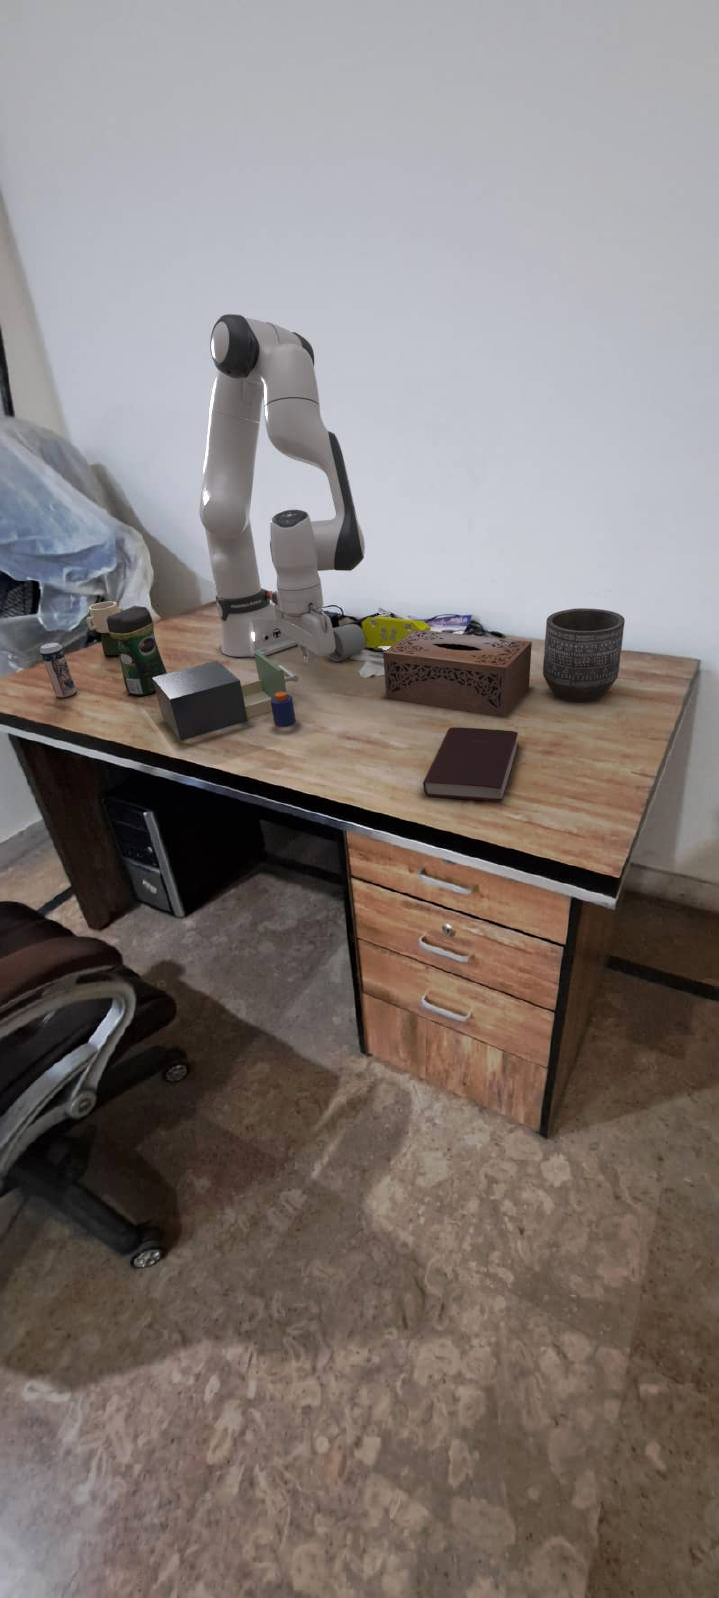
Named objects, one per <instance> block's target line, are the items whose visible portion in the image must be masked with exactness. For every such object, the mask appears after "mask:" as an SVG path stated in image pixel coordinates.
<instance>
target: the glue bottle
mask: <svg viewBox="0 0 719 1598" xmlns="http://www.w3.org/2000/svg"><path fill="white" fill-rule="evenodd" d="M286 692H287V691H286ZM286 692H278V693H276V694H275V696H274V697H272V698H271V700H270V701H271V706H272V711H271V713H272V719H273V724H274V725H275V727H280V728H285V727H290V726H292V725H294V724H295V723H296V721H297V720H296V714H295V706H294V700H293V696H292V695H290V694H288V693H287V694H286Z"/></svg>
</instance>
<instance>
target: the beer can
mask: <svg viewBox="0 0 719 1598" xmlns="http://www.w3.org/2000/svg"><path fill="white" fill-rule="evenodd" d="M39 653H40V655H41V657H42V660H43V664H44V666H45V669H46V672H47V675H48V677H49V681H50V683H51V687H52V689H53V692H54V695H55V697H58V698H68V697H71V696H73V695H74V694H75V693H76V692H77V689H76V686H75V682H74V680H73V676H72V673H71V670H70V667H69V665H68V661H67V658H66V656H65V653H64V650H63V646H62V645H61V644H60V643H59V642H58V641H57V642H55V641H54V642H48V643H43V644H42V645H41V646H40V650H39Z"/></svg>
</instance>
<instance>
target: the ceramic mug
mask: <svg viewBox="0 0 719 1598" xmlns="http://www.w3.org/2000/svg"><path fill="white" fill-rule="evenodd" d="M344 625H345V624H344ZM340 626H341V627H338V626H336V627H337V628H333V627H332V628H333V633H334V639H335V645H336V649H335V652H334V653H332V654H329V655H327V656H328V658H329V659H330V660H331V661H334V662H340V661H343V660H346V659H348V658H351V657H353V656H356V655H358V654H360V653H361V652H363V651H364V650H365V648H366V647H365V646H366V636H365V633H364V631H363V630H362V627H361V626H360V625H359V624H349V625H345V626H342V625H340Z"/></svg>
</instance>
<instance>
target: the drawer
mask: <svg viewBox="0 0 719 1598" xmlns="http://www.w3.org/2000/svg"><path fill="white" fill-rule="evenodd" d="M254 655H255V657H254V660H255V665H256V672H257V678H258V679H257V680H253V681H250V682H247V683H243V684H241V688H242V693H243V698H244V703H245V709H246V714H247V719H250V718H254V717H257V716H260V715H263V714H267V713H272V706H271V701H270V700H271V698H272V697H274V696H275V694H276V693H278V692H286V694H287V695H288V693H287V687H286V683H289V682H293V683H297V682H298V681H299V679H300V678H299V676H298V675H297V674H296V673H295V672H293V671H292V670H290V669H289V668H287V667H286V666H285V665H283V664H280V665H278V664H276V663H275V662H273V661H272V660H270V658H268V657H267V656H264V655H263V654H261V653H260V652H258V651H256V652H254Z"/></svg>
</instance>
